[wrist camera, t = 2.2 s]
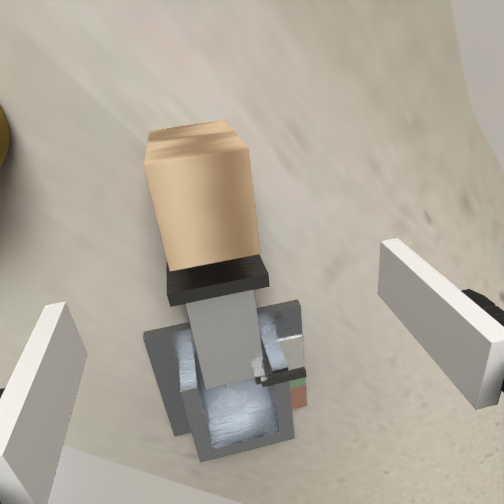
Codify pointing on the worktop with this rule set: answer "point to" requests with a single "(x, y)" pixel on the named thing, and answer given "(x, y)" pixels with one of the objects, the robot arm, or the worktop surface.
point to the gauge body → (231, 387)
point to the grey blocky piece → (226, 319)
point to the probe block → (202, 194)
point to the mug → (3, 136)
